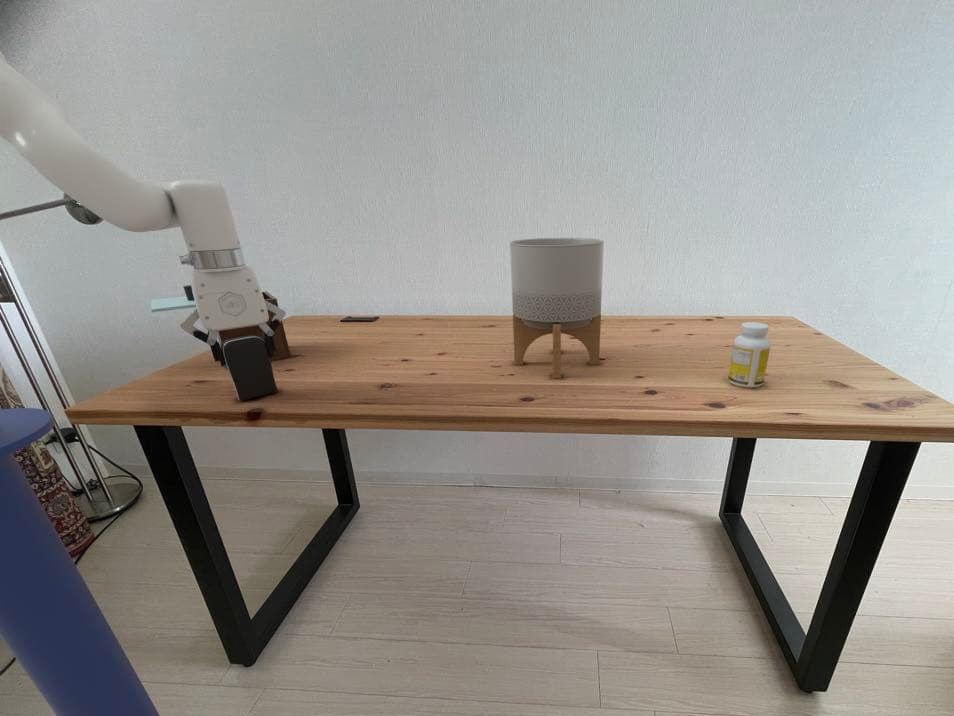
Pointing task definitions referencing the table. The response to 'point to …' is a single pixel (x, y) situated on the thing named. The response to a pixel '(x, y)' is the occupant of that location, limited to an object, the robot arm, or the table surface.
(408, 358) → the table surface
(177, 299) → the lid
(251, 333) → the brown wooden box
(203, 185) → the robot arm
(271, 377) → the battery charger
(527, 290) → the planter
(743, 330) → the pill bottle
